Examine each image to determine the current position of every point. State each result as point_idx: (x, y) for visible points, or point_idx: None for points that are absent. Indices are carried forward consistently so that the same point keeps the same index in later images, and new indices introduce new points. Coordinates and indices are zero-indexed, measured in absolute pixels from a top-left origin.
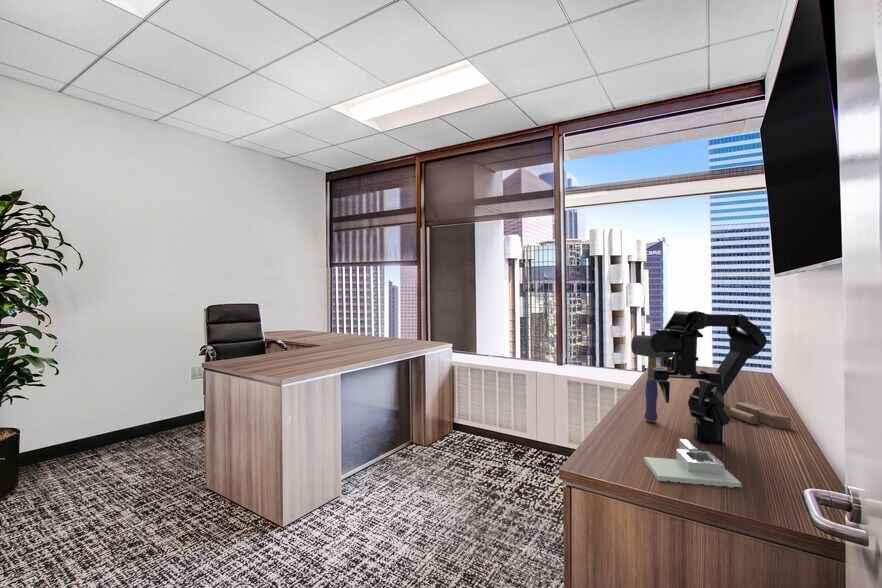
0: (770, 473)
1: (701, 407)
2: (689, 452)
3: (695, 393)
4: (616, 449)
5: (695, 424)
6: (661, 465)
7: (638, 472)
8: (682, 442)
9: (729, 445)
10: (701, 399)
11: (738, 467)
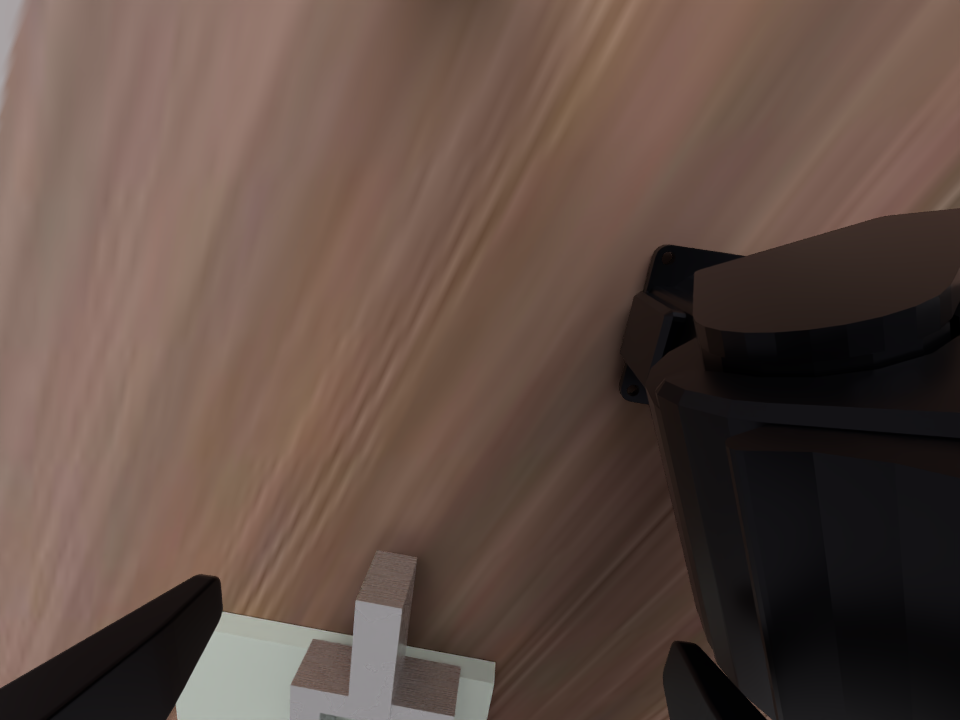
0: None
1: (702, 600)
2: (343, 715)
3: (912, 540)
4: (75, 483)
5: (656, 345)
6: (220, 693)
7: None
8: (353, 638)
9: None
10: None
11: (593, 662)
